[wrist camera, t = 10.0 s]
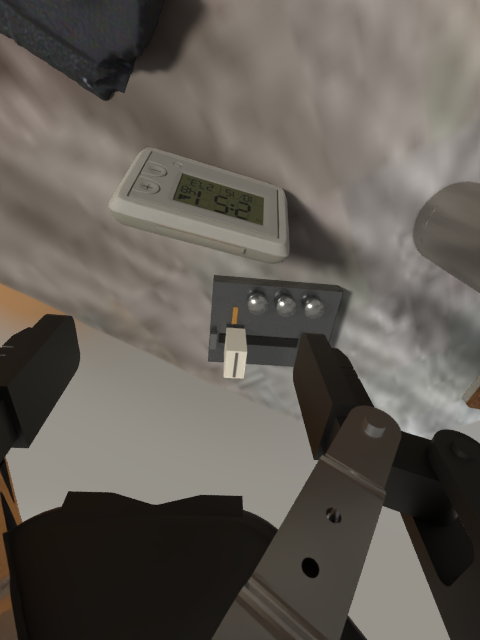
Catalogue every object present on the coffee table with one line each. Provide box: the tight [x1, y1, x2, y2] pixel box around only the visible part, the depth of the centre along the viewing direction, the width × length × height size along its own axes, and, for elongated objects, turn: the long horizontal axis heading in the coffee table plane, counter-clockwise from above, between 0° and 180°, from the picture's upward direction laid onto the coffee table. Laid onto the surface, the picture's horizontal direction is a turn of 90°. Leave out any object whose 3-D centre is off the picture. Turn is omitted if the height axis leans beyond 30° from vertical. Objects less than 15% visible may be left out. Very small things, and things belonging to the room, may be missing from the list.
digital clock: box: [109, 147, 290, 264], centre depth 31 cm, size 16×9×11 cm, turn 63°
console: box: [208, 275, 343, 367], centre depth 42 cm, size 16×12×4 cm
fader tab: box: [224, 328, 247, 379], centre depth 40 cm, size 2×4×5 cm, turn 174°
